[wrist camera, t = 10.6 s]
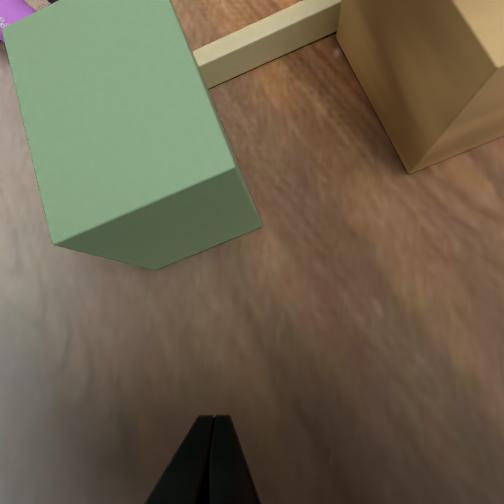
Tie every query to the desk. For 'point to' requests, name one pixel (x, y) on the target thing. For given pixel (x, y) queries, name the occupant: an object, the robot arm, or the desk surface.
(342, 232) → the desk surface
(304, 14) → the straightedge
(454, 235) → the desk surface
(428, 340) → the desk surface
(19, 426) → the desk surface
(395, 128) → the maple block
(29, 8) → the game card
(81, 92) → the green block
